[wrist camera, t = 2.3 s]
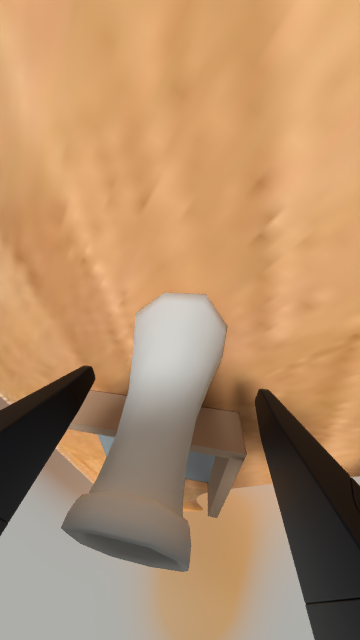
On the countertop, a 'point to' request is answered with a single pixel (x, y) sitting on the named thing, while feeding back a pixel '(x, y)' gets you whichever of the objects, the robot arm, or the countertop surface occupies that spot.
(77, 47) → the countertop surface
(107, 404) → the corner arena
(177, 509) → the flask
